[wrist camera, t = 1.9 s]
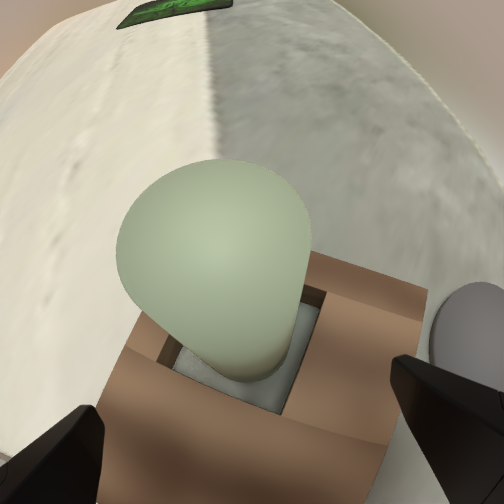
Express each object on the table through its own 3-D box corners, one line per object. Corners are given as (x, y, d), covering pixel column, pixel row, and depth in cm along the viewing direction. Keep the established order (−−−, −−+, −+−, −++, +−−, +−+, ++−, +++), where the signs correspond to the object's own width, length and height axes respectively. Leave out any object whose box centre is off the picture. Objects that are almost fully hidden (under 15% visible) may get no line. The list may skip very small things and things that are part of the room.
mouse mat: (113, 32, 53) (111, 29, 52) (136, 7, 63) (135, 4, 62) (233, 9, 52) (232, 5, 51) (233, -11, 62) (233, -14, 61)
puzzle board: (308, 569, 12) (312, 589, 9) (89, 474, 15) (66, 479, 13) (410, 305, 20) (427, 289, 17) (203, 237, 24) (195, 214, 21)
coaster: (513, 421, 15) (521, 420, 14) (414, 401, 17) (420, 400, 16) (526, 305, 19) (533, 300, 18) (439, 271, 21) (445, 265, 20)
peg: (270, 394, 18) (266, 367, 7) (191, 362, 19) (83, 282, 8) (301, 317, 20) (333, 184, 9) (224, 289, 22) (174, 146, 10)
